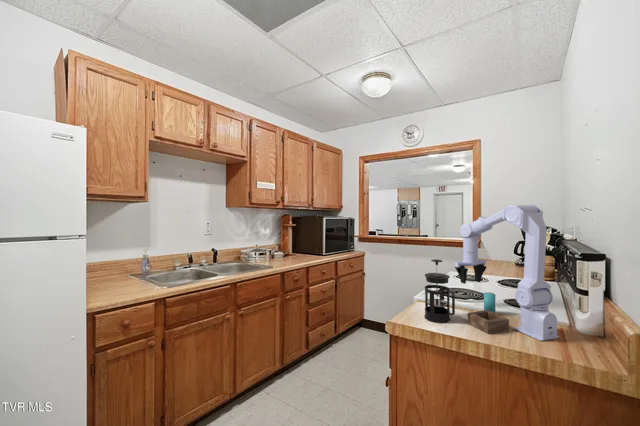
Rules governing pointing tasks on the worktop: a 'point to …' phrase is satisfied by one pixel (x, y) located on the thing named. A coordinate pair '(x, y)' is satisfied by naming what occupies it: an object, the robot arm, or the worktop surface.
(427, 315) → the french press
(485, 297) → the peg
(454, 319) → the worktop surface
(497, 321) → the socket block
